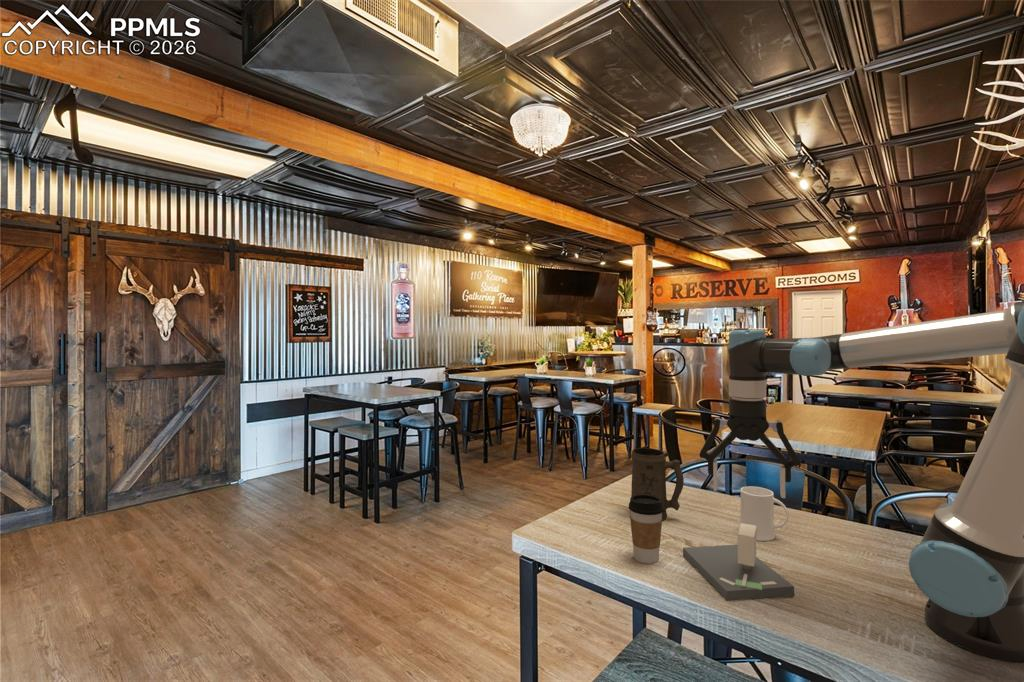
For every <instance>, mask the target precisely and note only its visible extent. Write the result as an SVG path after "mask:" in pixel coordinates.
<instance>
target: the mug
mask: <svg viewBox="0 0 1024 682" xmlns="http://www.w3.org/2000/svg"><path fill="white" fill-rule="evenodd" d="M774 504H778V505H780V507H782V508H783V510H784V511H785V514H786V518H785V520H784V521H783V522H781V523H778V524H776V523H775V521H774V519H775V518H774V517H775V516H774V513H775V512H774V511H775V510H774V509H775V507H774ZM789 515H790V514H789V510H788V509H787V507H786V505H785V504H784V503H783V502H782V501H780V500H779V499H778V498H775V495H774V492H773V491H772V490H770V489H768V488H764V487H761V486H742V487H741V488H740V524H741V523H744V524H749V525H755V526H756V542H757V541H758V542H769V541H773V540H774V539H775V532H774V531H775V529H776V530H777V529H780V528H783V527H784V526H785V525H786V524H787V523H788V521H789Z"/></svg>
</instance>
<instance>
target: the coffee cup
mask: <svg viewBox="0 0 1024 682" xmlns="http://www.w3.org/2000/svg"><path fill="white" fill-rule="evenodd" d="M628 509H629V514H630V513H631V514H630V515H629V519H630V521H629V522H630V530H631V539H632V547H633V548H632V550H633V558H634V559H635V561H637V562H639V563H641V564H647V565H649V564H650V565H651V564H656V563H657V562H659V560H660V546H661V534H662V526H663V521H662V512H663V511H664V509H663V506H662V500H661V499H660V498H658V497H655V496H651V495H643V494H640V495H634V496H632V497H630V499H629V503H628Z"/></svg>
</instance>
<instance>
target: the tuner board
mask: <svg viewBox="0 0 1024 682" xmlns="http://www.w3.org/2000/svg"><path fill="white" fill-rule="evenodd" d="M682 556H683V557H684V558H685V559H686V561H688V563H690V564H691V565H692V567H693V568H694V569H695V570H696V571H697V572H698V573H699V574H700V575H701V576H702V577H703V578H704V579H705V580H706V581H707V582H708V583H709V584H710V585H711V586H712V587H713V588H714V589H715V591H716V592H718V593H719V594H720V595H721V596H722V598H724V600H726V601H739V600H751V599H752V600H753V599H755V600H756V599H766V598H767V599H769V598H781V597H793V596H795V585H793V584H792V583H791V582H790V581H788V580H787V579H786V578H785V577H783V576H781V575H780V574H779V573H777V572H776V571H775V570H774V569H772V568H771V567H770V566H769V565H767V564H766V563H765V562H763V561H762V560H761V559H760V558H759V557H757V556H756V559H755V564H754V567H753V566H751V571H746V570H744V569H743V564H739V563H738V543H737V544H725V545H723V544H722V545H706V546H693V547H691V546H690V547H683V548H682ZM744 574H748V576H747V581H746V585H745V587H742V586H741V585H742V580H743V576H744Z"/></svg>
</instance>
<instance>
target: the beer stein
mask: <svg viewBox="0 0 1024 682" xmlns="http://www.w3.org/2000/svg"><path fill="white" fill-rule="evenodd" d="M630 457H631V462H632V463H631V470H632V471H631V497H632V496H634V495H640V494H643V495H651V496H655V497H658V498H660V499H661V500H662V506H663V509H664V511H663V512H662V522H663V521H665V520H666V519H667V518H668V517H667V516H668V515H667V509H674V510H675V511H679V508H680V503H679V497H680V495H681V493H682V491H683V488H684V482H685V481H684V479H685V477H684V473H683V471H682V468H681V461H680V460H679V459H673V460H672V461H671V460H669V461H667V457H666V455H665V452H664V451H663V450H661V449H656V448H649V447H637V448H633V449H632V452H631V455H630ZM668 469H672V470H673V471H674V473H675V477H676V478H675V487H674V491H673V494H672V496H671V498H670V499H669V500H668V499H667V481H666V480H667V479H666V478H667V477H666V476H667V475H666V471H667V470H668ZM631 497H630V498H631ZM629 514H630V515H631V513H630V512H629Z"/></svg>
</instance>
